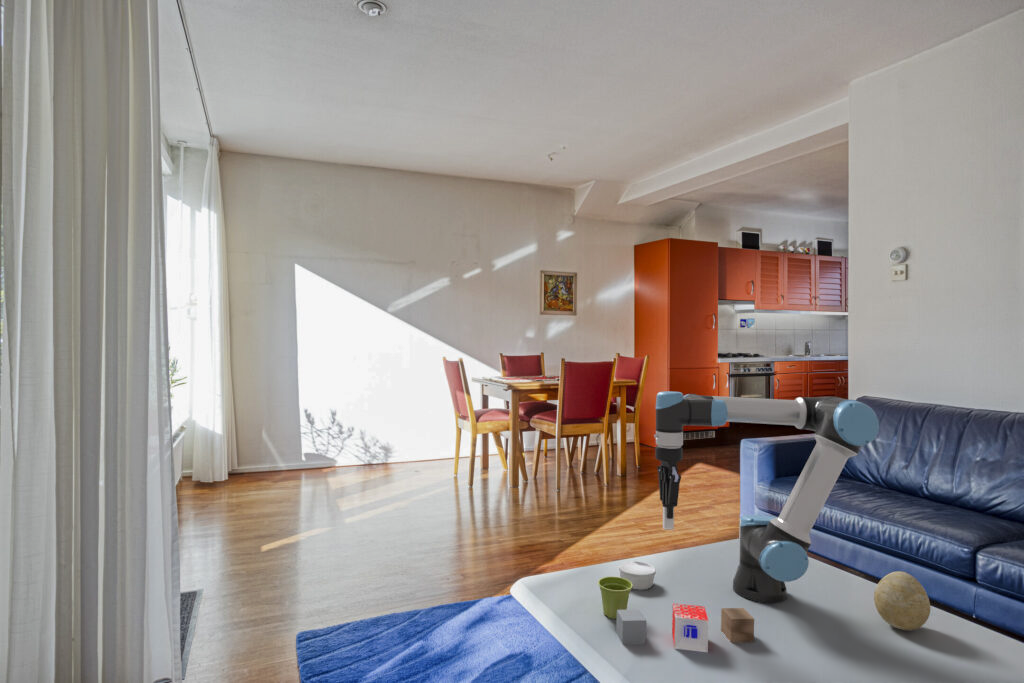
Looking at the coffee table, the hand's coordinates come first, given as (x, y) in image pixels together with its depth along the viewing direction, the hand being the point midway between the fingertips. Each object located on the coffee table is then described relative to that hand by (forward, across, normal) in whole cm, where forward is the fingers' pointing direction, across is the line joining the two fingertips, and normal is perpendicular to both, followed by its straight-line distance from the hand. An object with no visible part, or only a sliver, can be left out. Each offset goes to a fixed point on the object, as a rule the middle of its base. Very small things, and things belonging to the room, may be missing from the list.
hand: (668, 528), depth 170 cm
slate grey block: (+23, +16, -15) cm, 32 cm away
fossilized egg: (+24, +14, +60) cm, 66 cm away
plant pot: (+23, +3, -16) cm, 28 cm away
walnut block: (+23, +17, +13) cm, 31 cm away
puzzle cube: (+23, +19, -1) cm, 30 cm away
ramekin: (+23, -16, -4) cm, 28 cm away
